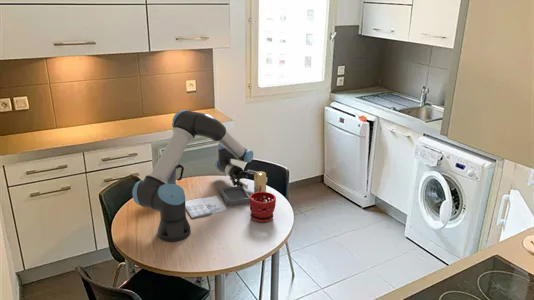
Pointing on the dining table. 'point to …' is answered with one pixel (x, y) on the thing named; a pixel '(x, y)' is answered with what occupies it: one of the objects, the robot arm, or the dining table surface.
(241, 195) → the slate tray
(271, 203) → the plant pot
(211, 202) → the bicycle print cloth
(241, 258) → the dining table surface
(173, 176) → the moka pot
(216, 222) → the dining table surface
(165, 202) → the robot arm
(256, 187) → the cylinder
